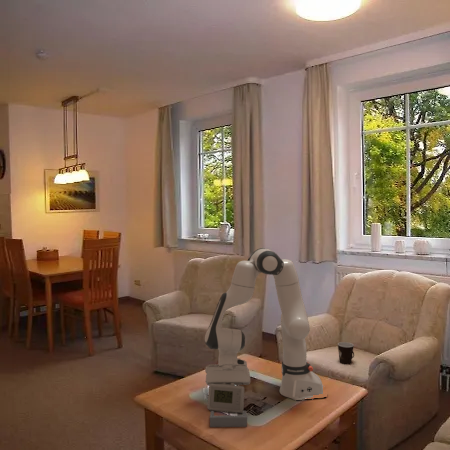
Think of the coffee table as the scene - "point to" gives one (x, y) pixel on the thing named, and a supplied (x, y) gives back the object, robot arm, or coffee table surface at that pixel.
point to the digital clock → (226, 398)
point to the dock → (228, 420)
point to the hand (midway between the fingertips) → (228, 394)
